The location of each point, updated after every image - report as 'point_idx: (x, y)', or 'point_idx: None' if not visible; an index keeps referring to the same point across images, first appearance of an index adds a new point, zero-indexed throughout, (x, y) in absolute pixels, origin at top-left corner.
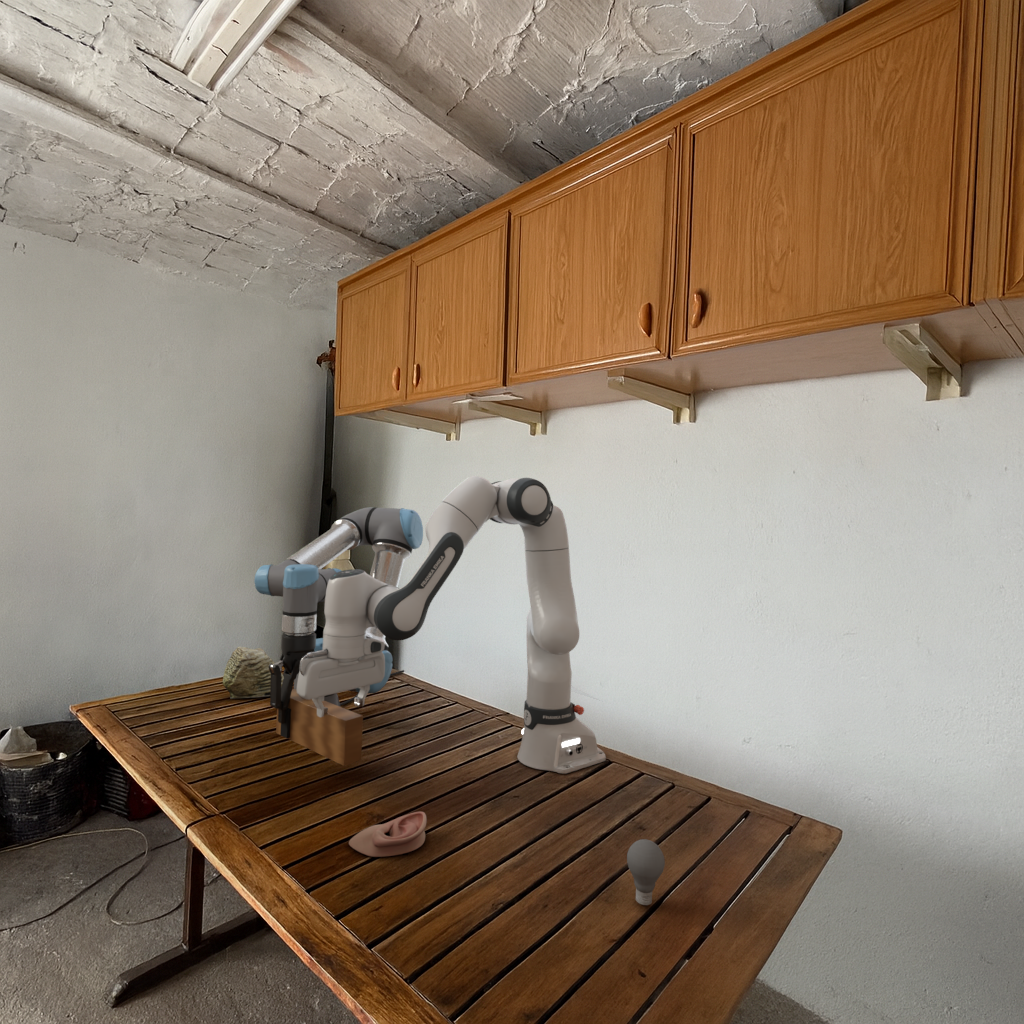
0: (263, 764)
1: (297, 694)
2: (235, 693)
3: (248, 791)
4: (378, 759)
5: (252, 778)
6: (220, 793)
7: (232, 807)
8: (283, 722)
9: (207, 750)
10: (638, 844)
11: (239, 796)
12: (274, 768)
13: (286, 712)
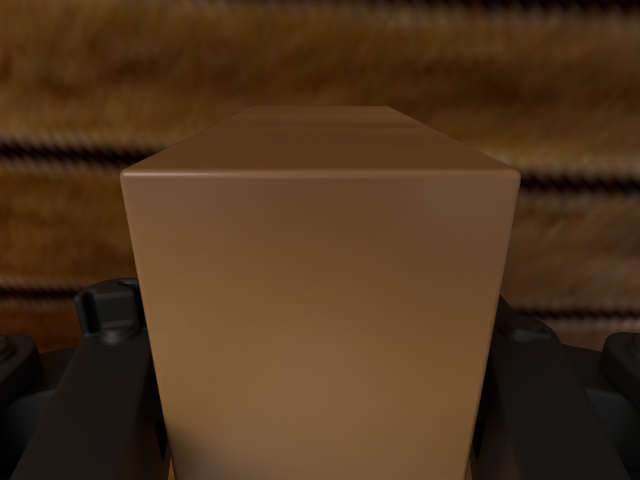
0: (257, 12)
1: (339, 460)
2: None
3: (103, 217)
4: (603, 316)
5: (156, 122)
6: (7, 159)
7: (21, 283)
8: None
9: None
10: None
11: (63, 230)
12: (273, 96)
13: None
